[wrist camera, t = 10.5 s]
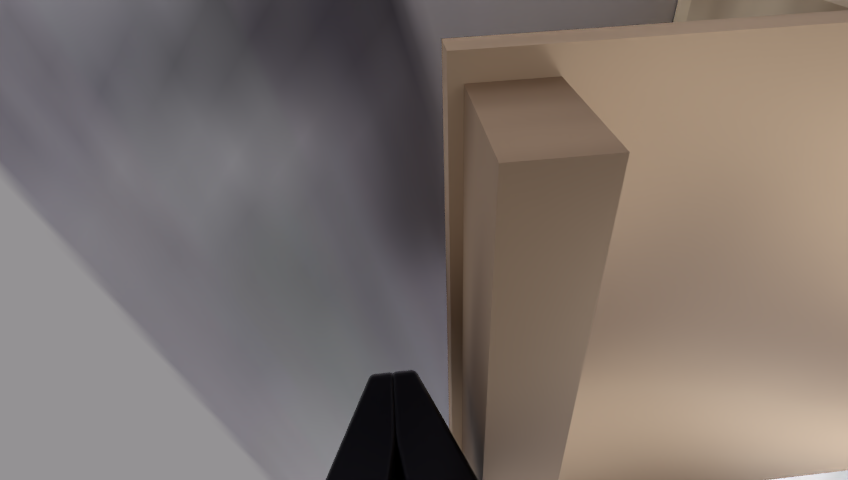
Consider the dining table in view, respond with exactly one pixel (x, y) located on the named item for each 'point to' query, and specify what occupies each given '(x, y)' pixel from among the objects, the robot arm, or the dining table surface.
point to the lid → (649, 249)
